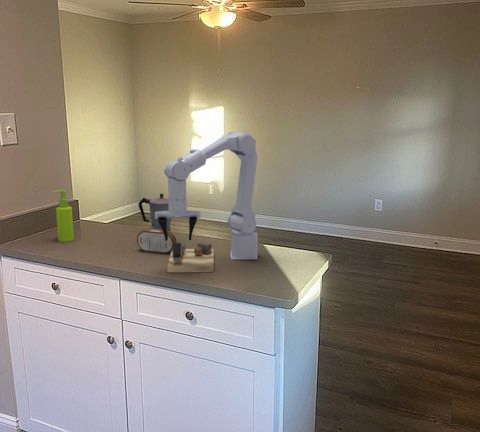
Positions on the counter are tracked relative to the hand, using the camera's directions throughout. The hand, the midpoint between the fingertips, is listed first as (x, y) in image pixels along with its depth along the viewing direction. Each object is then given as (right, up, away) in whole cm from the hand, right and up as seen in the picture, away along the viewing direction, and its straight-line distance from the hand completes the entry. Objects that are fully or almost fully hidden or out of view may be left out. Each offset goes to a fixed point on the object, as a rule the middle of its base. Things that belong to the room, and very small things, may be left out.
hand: (178, 239), depth 161 cm
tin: (-11, -6, +21) cm, 24 cm away
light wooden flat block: (+3, -8, +9) cm, 13 cm away
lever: (-1, -6, +8) cm, 10 cm away
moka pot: (-11, -4, +31) cm, 33 cm away
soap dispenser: (-49, -2, +35) cm, 61 cm away
